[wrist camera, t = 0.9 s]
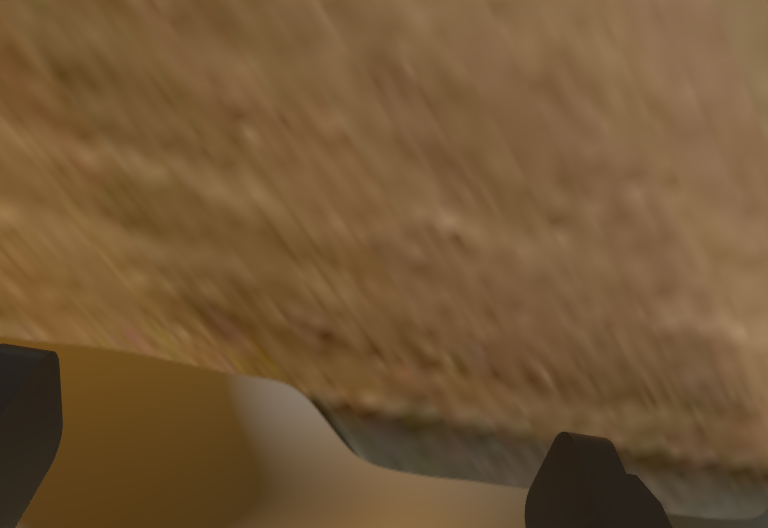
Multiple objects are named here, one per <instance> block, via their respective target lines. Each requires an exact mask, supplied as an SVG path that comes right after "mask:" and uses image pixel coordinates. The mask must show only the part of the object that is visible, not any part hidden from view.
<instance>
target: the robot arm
mask: <svg viewBox="0 0 768 528" xmlns="http://www.w3.org/2000/svg"><path fill="white" fill-rule="evenodd" d="M61 402H62V401H61V384H60V368H59V358H58V356H57V354H56V353H55V352H54V351H48V350H42V349H35V348H28V347H22V346H16V345H9V344H0V528H15V527H16V526H17V524H18V522H19V520H20V519H21V517H22V515H23V513H24V512H25V510H26V508H27V506H28V505H29V503H30V501H31V500H32V498H33V496H34V494H35V493H36V490H37V489H38V487H39V486H40V484H41V482H42V480H43V478H44V477H45V475H46V473H47V472H48V470H49V468H50V466H51V464H52V463H53V460H54V458H55V456H56V453H57V450H58V447H59V444H60V440H61V435H62V428H63V419H62V403H61ZM525 525H526V528H672V525H671V523H670V521H669V519H668V517H667V515H666V513H665V511H664V509H663V507H662V505H661V503H660V502H659V501H658V500H657V498H656V497H655V496H654V495H653V494H652V493H651V491H650V490H649V489H648V488H647V487H646V486H645V485H644V483H643V482H642V481H641V480H640V479H639V478H638V476H637V475H631V474H626V472H625V470H624V467H623V465H622V463H621V461H620V458H619V456H618V454H617V452H616V449H615V447H614V445H613V444H612V443H611V441H610V440H608V439H606V438H602V437H595V436H589V435H582V434H576V433H569V432H561V433H559V434H558V435H557V436H556V438H555V440H554V442H553V444H552V446H551V448H550V450H549V451H548V453H547V455H546V457H545V459H544V461H543V463H542V465H541V467H540V469H539V471H538V473H537V475H536V477H535V479H534V481H533V483H532V485H531V487H530V489H529V492H528V495H527V499H526V504H525Z"/></svg>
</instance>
